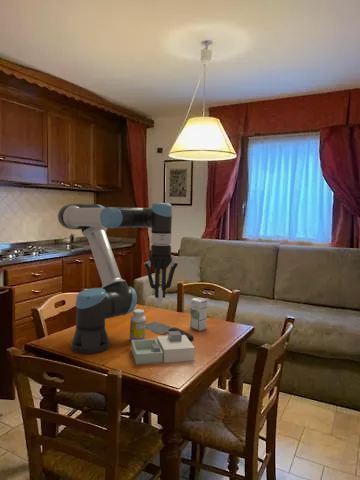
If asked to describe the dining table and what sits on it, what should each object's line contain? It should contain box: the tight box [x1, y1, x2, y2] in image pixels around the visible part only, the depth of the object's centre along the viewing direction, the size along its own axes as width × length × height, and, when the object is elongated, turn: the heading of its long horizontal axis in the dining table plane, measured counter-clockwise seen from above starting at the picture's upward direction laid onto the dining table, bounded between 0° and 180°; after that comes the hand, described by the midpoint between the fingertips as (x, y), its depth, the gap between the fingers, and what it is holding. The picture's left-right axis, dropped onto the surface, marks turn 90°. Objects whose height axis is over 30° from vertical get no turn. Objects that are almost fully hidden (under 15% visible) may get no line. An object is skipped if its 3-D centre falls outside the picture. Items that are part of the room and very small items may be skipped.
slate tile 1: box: [151, 344, 160, 353], centre depth 143 cm, size 4×4×2 cm
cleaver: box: [145, 321, 195, 342], centre depth 173 cm, size 30×10×2 cm, turn 45°
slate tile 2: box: [167, 331, 182, 341], centre depth 151 cm, size 4×4×2 cm
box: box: [130, 338, 164, 366], centre depth 145 cm, size 10×14×4 cm
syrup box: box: [190, 296, 208, 332], centre depth 179 cm, size 6×6×14 cm
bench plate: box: [156, 335, 196, 363], centre depth 148 cm, size 12×14×5 cm
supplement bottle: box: [129, 308, 147, 341], centre depth 162 cm, size 7×7×13 cm
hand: (159, 305), depth 142 cm, fingers closed
